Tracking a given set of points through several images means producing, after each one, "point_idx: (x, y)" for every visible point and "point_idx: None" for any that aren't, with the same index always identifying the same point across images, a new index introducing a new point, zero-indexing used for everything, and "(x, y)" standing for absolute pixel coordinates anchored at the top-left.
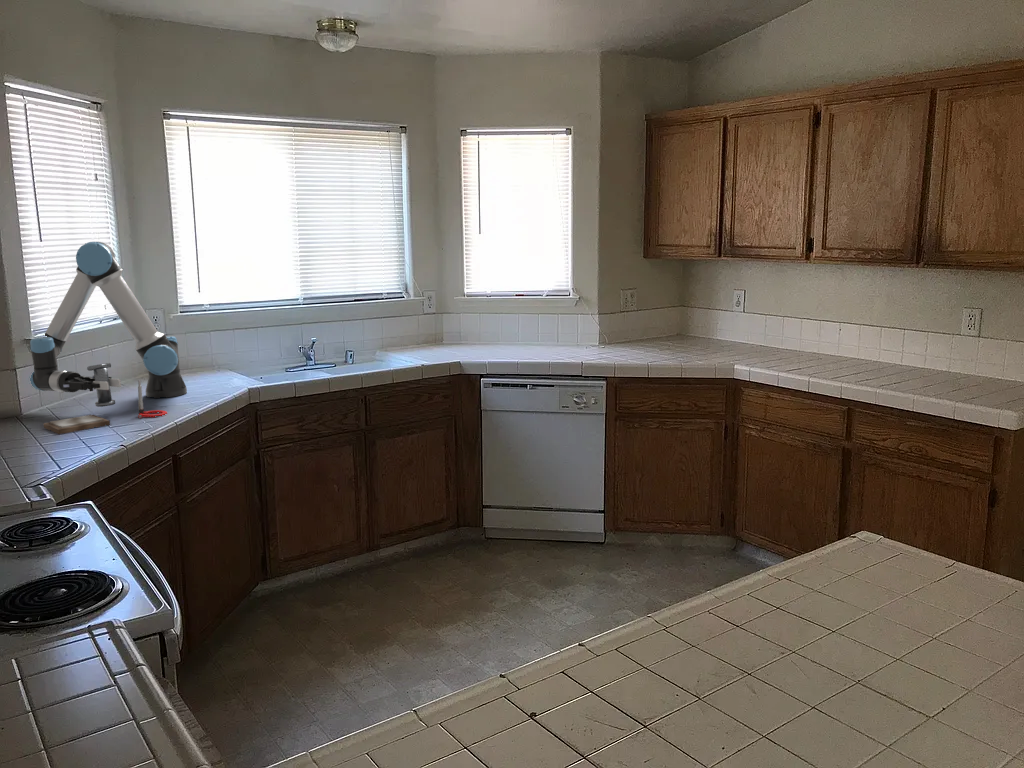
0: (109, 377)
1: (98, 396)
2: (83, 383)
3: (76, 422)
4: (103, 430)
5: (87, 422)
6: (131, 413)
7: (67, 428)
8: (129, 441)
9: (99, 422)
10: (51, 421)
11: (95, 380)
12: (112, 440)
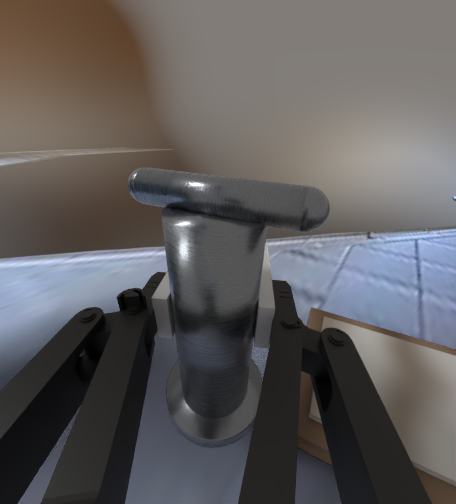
0: (94, 314)
1: (249, 367)
2: (348, 337)
3: (410, 360)
4: (349, 297)
5: (374, 332)
6: (164, 356)
7: (450, 349)
8: (352, 239)
9: (340, 316)
10: None
11: (258, 297)
12: (369, 253)
